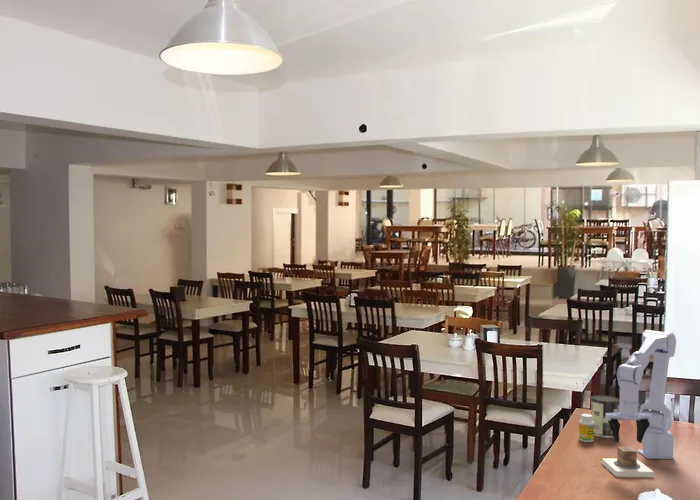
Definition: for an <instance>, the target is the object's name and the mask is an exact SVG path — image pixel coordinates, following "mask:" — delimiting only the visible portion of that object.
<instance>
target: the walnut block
mask: <svg viewBox="0 0 700 500" xmlns="http://www.w3.org/2000/svg"><path fill="white" fill-rule="evenodd" d="M616 459H617V462H618V463H620V464H621V465H622V466H633V467H637V459H638V450H636V449H635V448H633V447H631V446H617V457H616Z"/></svg>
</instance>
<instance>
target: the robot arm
mask: <svg viewBox="0 0 700 500" xmlns="http://www.w3.org/2000/svg"><path fill="white" fill-rule="evenodd" d="M641 343H642V344H641V346H640V348H639V350H638V351H634V352H633V353H632V354H631V356H630V357H629V358H628V359H627V361H626V362H625V363H622V364H620V365H619V366H618V367H617V371H616V378H617V384H618V386H619V412H615V413H606V415H605V419H606V420H607V421H608V423H609V425H610V427H611V430H612V433H613V437H614V438H613V442H615V443H619V441H620V428H621V423H620V422H619V421H635V422H636V423H635V424H636V441H637V443H639V444H641V443H642V449H637V453H640V454H641V455H642V456H643V457H645V458H646V459H650V460H651V459H655V460H656V459H660V460H661V459H662V460H675V457H674V444H675V443H674V436H673V433H672V432H671V431H670V430H671V427H672V422H673V421H672V411H671V409H670V408H669V407H668V406H667V405H666V404H665V403H664V402H665V396H666V395H665V394H666V390H667V389H666V387H667V380H668V372H669V371H668V370H669V363H670V359H671V358H672V357H674V356H675V354H676V346H677V339H676V335H675V333H674V332H672V331H671V332H665V331H658V330H650V329H645V330H644V331H643V333H642V335H641ZM651 356H653V364H652V372H651V380H650V388H649V397H648V401H647V402H645V403H642V405H640V408H639V392H640V391H639V389H640V383H641V382H642V378H643V375H644V370H645V369H646V368H647V366H648V365H649V363H650V358H649V357H651ZM652 410H653V411H652Z"/></svg>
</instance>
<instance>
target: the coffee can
mask: <svg viewBox="0 0 700 500" xmlns="http://www.w3.org/2000/svg"><path fill="white" fill-rule="evenodd" d="M590 400H591V401H590V407H591V408H590V415H592V421H593V422H594V437H597V438H598V437H599V438H604V439H605V438H606V439H614V437H613V433H612V430H611V427H610V425H609V423H608V421H607V420H606V419H605V415H606V413H615V412H619V402H620V398H617V397H614V396H610V395H602V394H600V395H599V394H597V395H595V394H594V395H592V396H590Z"/></svg>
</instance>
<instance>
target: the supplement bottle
mask: <svg viewBox="0 0 700 500" xmlns="http://www.w3.org/2000/svg"><path fill="white" fill-rule="evenodd" d="M580 418H581V419H579V422H578V439H579V441H581V442H584V443H593V442H594V440H595V439H594V438H595V435H594V422H593V421H592V415H591V413H582V414H581V415H580Z"/></svg>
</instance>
